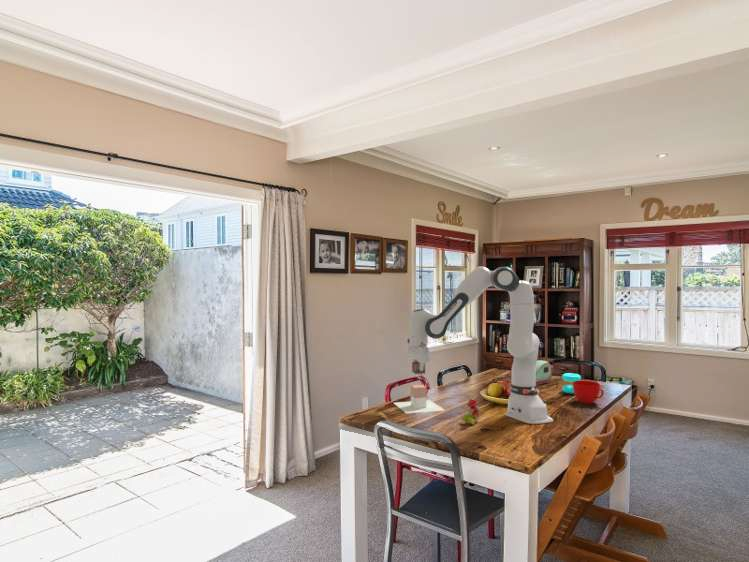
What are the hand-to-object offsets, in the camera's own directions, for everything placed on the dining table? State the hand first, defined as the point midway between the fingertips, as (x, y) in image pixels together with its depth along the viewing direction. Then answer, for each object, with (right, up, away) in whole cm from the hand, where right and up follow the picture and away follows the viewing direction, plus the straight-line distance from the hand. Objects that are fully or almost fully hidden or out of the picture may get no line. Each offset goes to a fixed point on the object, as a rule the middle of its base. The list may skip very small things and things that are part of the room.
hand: (418, 369), depth 238 cm
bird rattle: (+22, -20, -23) cm, 38 cm away
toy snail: (+81, -20, +60) cm, 103 cm away
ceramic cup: (+90, -20, +12) cm, 93 cm away
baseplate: (0, -20, 0) cm, 20 cm away
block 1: (0, -14, 0) cm, 14 cm away
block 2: (0, -19, 0) cm, 19 cm away
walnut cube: (0, -2, 0) cm, 2 cm away
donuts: (+91, -20, +36) cm, 100 cm away
